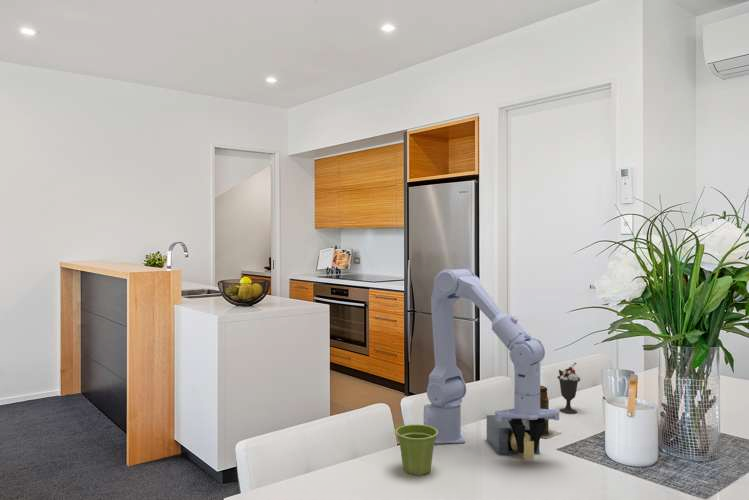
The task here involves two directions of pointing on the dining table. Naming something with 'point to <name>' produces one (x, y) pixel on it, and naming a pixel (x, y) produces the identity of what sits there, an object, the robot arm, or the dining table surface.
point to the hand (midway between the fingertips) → (526, 451)
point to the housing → (502, 435)
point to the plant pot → (416, 447)
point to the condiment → (545, 405)
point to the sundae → (568, 387)
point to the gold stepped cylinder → (527, 445)
